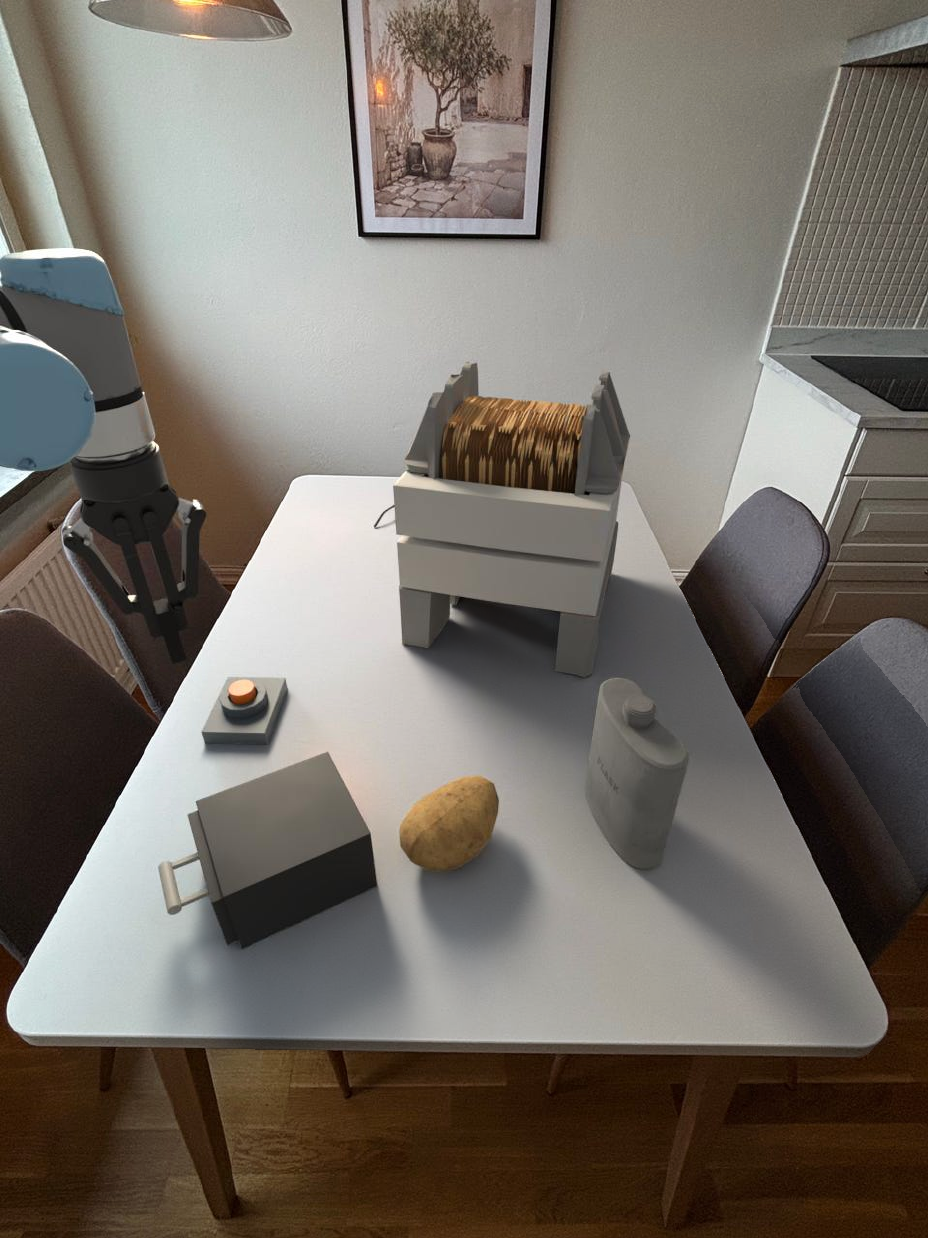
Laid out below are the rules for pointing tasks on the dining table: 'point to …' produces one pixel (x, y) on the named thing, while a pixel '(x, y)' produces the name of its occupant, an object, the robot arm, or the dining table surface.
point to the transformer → (511, 510)
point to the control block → (246, 713)
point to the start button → (242, 691)
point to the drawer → (212, 883)
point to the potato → (450, 824)
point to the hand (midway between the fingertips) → (177, 655)
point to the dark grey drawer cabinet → (287, 847)
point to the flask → (633, 773)
